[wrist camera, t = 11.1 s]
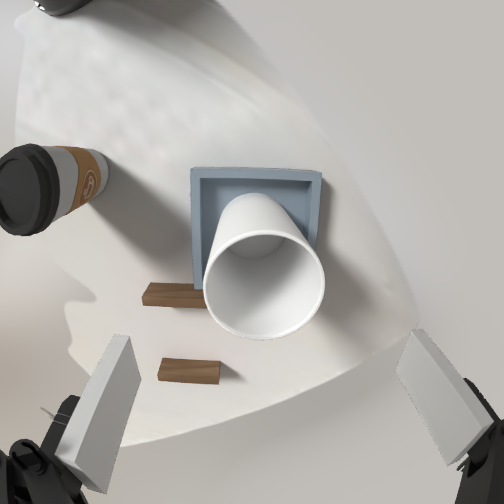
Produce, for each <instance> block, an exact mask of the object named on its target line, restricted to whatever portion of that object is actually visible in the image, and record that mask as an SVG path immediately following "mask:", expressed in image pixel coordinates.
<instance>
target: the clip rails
mask: <svg viewBox="0 0 504 504" xmlns="http://www.w3.org/2000/svg"><path fill="white" fill-rule="evenodd" d="M142 302H143V306H161V307H183V308H207V305H206V303H205V299H204V293H203V289H194V284H177V283H150V284H149V286H148V287H147V289H146V291H145V292H144V294H143V296H142ZM219 375H220V361H206V360H186V359H171V358H162V362H161V365H160V368H159V371H158V374H157V376H158V380H159V381H168V382H180V383H196V384H219Z"/></svg>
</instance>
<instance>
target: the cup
mask: <svg viewBox="0 0 504 504" xmlns="http://www.w3.org/2000/svg"><path fill="white" fill-rule="evenodd" d="M324 292H325V275H324V271H323V268H322V265H321V262H320V260H319V258H318V256H317V255H316V253H315V252H314V250H313V249H312V247H311V246H310V245H309V243H308V242H307V240H306V239H305V237H304V236H303V235H302V233H301V232H300V230H299V229H298V228H297V226H296V225H295V224H294V222H293V221H292V219H291V218H290V217H289V215H288V214H287V213H286V211H285V210H284V209H283V207H282V206H281V205H280V204H279V203H278V202H277V201H276V200H275V199H273V198H272V197H270V196H268V195H265V194H261V193H247V194H243V195H241V196H238V197H236V198H235V199H233V200H232V201H231V202H230V203H229V204H228V205H227V206H226V207H225V208H224V210H223V212H222V214H221V217H220V220H219V224H218V227H217V230H216V234H215V238H214V241H213V245H212V248H211V252H210V256H209V259H208V263H207V267H206V271H205V275H204V281H203V293H204V299H205V303H206V305H207V308H208V310H209V312H210V313H211V315H212V317H213V318H214V319H215V320H216V321H217V322H218V324H220V325H221V326H222V327H223V328H224V329H226V330H227V331H229V332H231V333H233V334H235V335H237V336H240V337H243V338H246V339H252V340H272V339H277V338H281V337H284V336H287V335H289V334H291V333H293V332H295V331H297V330H299V329H300V328H301V327H303V326H304V325H305V324H306V323H308V322H309V320H310V319H311V318H312V317H313V316H314V315H315V313H316V312H317V310H318V308H319V307H320V305H321V302H322V300H323V296H324Z"/></svg>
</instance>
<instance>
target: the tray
mask: <svg viewBox="0 0 504 504" xmlns="http://www.w3.org/2000/svg"><path fill="white" fill-rule="evenodd" d="M321 179H322V173H321V172H318V171H312V170H297V169H278V168H250V167H194V168H191V169H190V182H191V232H192V257H193V276H194V289H203V281H204V275H205V271H206V267H207V263H208V259H209V256H210V252H211V248H212V245H213V241H214V238H215V234H216V230H217V227H218V224H219V220H220V217H221V214H222V212H223V210H224V208H225V207H226V206H227V205H228V204H229V203H230V202H231V201H232V200H233V199H235V198H236V197H238V196H241V195H243V194H247V193H261V194H265V195H268V196H270V197H272V198H273V199H275V200H276V201H277V202H278V203H279V204H280V205H281V206H282V207H283V209H284V210H285V211H286V213H287V214H288V215H289V217H290V218H291V219H292V221H293V222H294V224H295V225H296V226H297V228H298V229H299V230H300V232H301V233H302V235H303V236H304V237H305V239H306V240H307V242H308V243H309V245H310V246H311V247H312V249H313V250H314V252H315V249H316V239H317V229H318V218H319V206H320V194H321Z"/></svg>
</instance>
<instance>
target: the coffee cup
mask: <svg viewBox="0 0 504 504" xmlns="http://www.w3.org/2000/svg"><path fill="white" fill-rule="evenodd" d="M108 176H109V170H108V165H107V162H106V160H105V158H104V157H103V156H102V155H101V153H99V152H98V151H96V150H93V149H85V148H79V147H67V146H53V147H52V146H39V145H36V144H26V145H22V146H19V147H15V148H13V149H12V150H11V151H9V152H8V153H7V154H5V155H4V156H3V157H1V159H0V225H1V227H2V228H3V229H4V230H5V231H6V232H8V233H10V234H12V235H21V236H31V235H33V234H37V233H39V232H42V231H44V230H45V229H46V228H47V227H48V226H49V225H50V224H51V223H52V222H54V221H56V220H57V219H59V218H60V217H62V216H65V215H67V214H68V213H70V212H72V211H73V210H75V209H77V208H78V207H80V206H82V205H84V204H85V203H87V202H88V201H89V200H91V199H93V198H95V197H96V196H98V195H99V194H100V193H101V192H102V191H103V190H104V188H105V186H106V184H107V181H108Z"/></svg>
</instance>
